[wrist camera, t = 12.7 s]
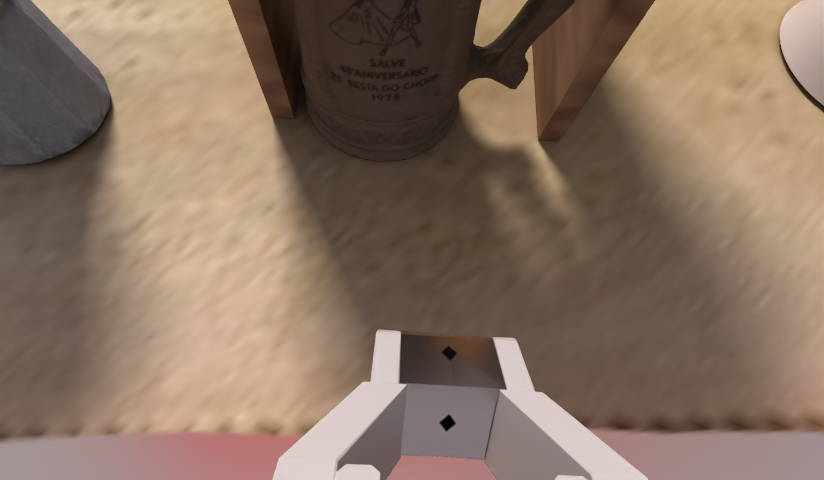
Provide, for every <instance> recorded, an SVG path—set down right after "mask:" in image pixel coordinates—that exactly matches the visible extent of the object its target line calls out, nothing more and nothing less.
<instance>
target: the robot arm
mask: <svg viewBox="0 0 824 480" xmlns="http://www.w3.org/2000/svg"><path fill="white" fill-rule="evenodd" d="M780 43H781V48H782V52H783V54H784V57H785V59H786V62H787V64H788V66H789V67H790V69H791V71H792V72H793V74H794V75H795V77H796V78H797V80H798V81H799V82H800V83H801V85H802V86H803V87H804V88H805V89H806V90H807V91H808V92H809V93H810V94H811V95H812V96H813V97H814V98H815V99H816V100H817V101H819V102H820V103H821V104H822V105H823V106H824V0H802V1H800V2H799V3H797V4H796V5H794V6H793V7H792V8H791V9H790V10H789V11H788V12H787V13H786V15H785V16H784V18H783V20H782V23H781V28H780ZM401 455H409V456H412V455H413V456H445V457H457V458H469V459H481V460H485V463H486V465H487V466H488V467H489V469H490V470H491V471H492V473H493V474H494V475H495V477H496V478H497V479H498V480H649V479H648V478H647V477H646V476H645V475H643V474H642V473H641V472H640V471H638V470H637V469H636V468H635V467H633V466H632V465H631V464H630V463H628V462H627V461H626V460H625V459H624V458H622V457H621V456H620V455H619V454H617V453H616V452H615V451H614V450H613V449H611V448H610V447H609V446H608V445H607V444H605V443H604V442H603V441H601V440H600V439H599V438H598V437H597V436H596V435H594V434H593V433H592V432H591V431H589V430H588V429H587V428H586V427H585V426H583V425H582V424H581V423H580V422H578V421H577V420H576V419H575V418H574V417H572V416H571V415H570V414H569V413H567V412H566V411H565V410H564V409H562V408H561V407H560V406H559V405H558V404H556V403H555V402H554V401H553V400H551V399H550V398H549V397H548V396H547V395H545V394H544V393H543V392H535V389H534V386H533V383H532V381H531V378H530V375H529V372H528V370H527V367H526V364H525V361H524V359H523V356H522V353H521V350H520V348H519V345H518V342H517V340H516V339H515V338H506V337H491V338H486V337H469V336H451V335H443V334H431V333H419V332H407V331H401V333H400V331H394V330H379V329H378V330H377V332H376V339H375V347H374V355H373V364H372V372H371V380H370V382H362V383H361V384H360V385H359V386H358V387H357V388H356V389H355V390H353V391H352V392H351V393H350V394H349V395H348V396H347V397H346V398H345V399H344V400H342V401H341V402H340V403H339V404H338V405H337V406H336V407H335V408H334V409H333V410H331V411H330V412H329V413H328V414H327V415H326V416H325V417H324V418H323V419H322V420H320V421H319V422H318V423H317V424H316V425H315V426H314V427H313V428H312V429H311V430H309V431H308V432H307V433H306V434H305V435H304V436H303V437H302V438H301V439H300V440H298V441H297V442H296V443H295V444H294V445H293V446H292V447H291V448H290V449H289V450H287V451H286V452H285V453H284V454H283V455H282V456H281V457H280V458H279V460H278V464H277V467H276V470H275V473H274V476H273V479H272V480H386V479H387V477H388V476H389V474H390V473H391V471H392V469H393V468H394V467H395V465H396V464H397V462H398V461H399V459H400V457H401Z"/></svg>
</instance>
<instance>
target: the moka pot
mask: <svg viewBox="0 0 824 480" xmlns="http://www.w3.org/2000/svg"><path fill="white" fill-rule="evenodd" d="M109 109H110V93H109V90H108V88H107V84H106V82H105V79H104V77H103V76H102V74H101V73H100V71H99V70H98V68H97V67H96V66H95V65H94V64H93V63H92V62H91V61H90V60H89V59H88V58H87V57H86V56H85V55H84V54H83V53H82V52H81V51H80V50H79V49H78V48H77V47H76V46H75V45H74V44H73V43H72V42H71V41H70V40H69V39H68V38H67V37H66V36H65V35H64V34H63V33H62V32H61V31H60V30H59V29H58V28H57V27H56V26H55V25H54V24H53V23H52V22H51V21H50V20H49V18H48V17H47V16H46V15H45V14H44V13H43V12H42V11H41V10H40V9H39V8H38V7H37V6H36V5H35V4H34V3H33V2H32V1H31V0H0V165H6V166H7V165H21V164H31V163H38V162H41V161H43V160H46V159H49V158H53V157H56V156H59V155H62V154H64V153H66V152H68V151H70V150H72V149H73V148H75V147H77V146H78V145H79V144H81V143H82V142H84V141H85V140H86V139H87V138H89V137H90V136H91V135H93V134H94V133H95V132H96V131H97V129H98V128H99V126H100V125H101V123H102V122H103V119H104V117H105V116H106V113H107V111H108V110H109Z"/></svg>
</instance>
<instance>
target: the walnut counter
mask: <svg viewBox="0 0 824 480" xmlns="http://www.w3.org/2000/svg"><path fill="white" fill-rule="evenodd" d="M228 1H229V4H230V6H231V9H232V12H233V14H234V17H235V20H236V22H237V25H238V28H239V30H240V33H241V35H242V38H243V41H244V43H245V46H246V49H247V51H248V54H249V57H250V59H251V62H252V65H253V67H254V70H255V73H256V75H257V78H258V80H259V83H260V86H261V88H262V91H263V94H264V96H265V99H266V102H267V104H268V107H269V110H270V112H271V115H272V117H277V118H289V119H295V113H296V107H297V102H298V96H299V91H300V85H301V80H302V79H301V74H300V68H299V57H300V47H299V42H298V37H297V32H296V27H295V22H294V17H293V11H292V6H291V0H228ZM654 1H655V0H575V2H574V3H573V5H572V6H571V7H570V8H569V9H568V10H567V11H565V12H564V13H563V14H562V15H561V16H560V17H559V18H558V19H557V20H556V21H555V22H554V23H553V24H552V25H551V26H550V27H549V28H548V29H547V30H546V31H544V32H543V33H542V34H541V35H540V36H539V37H538V38H537V39H536V40H535V41H534V42H533V44H532V49H533V65H534V82H535V98H536V115H537V131H538V140H548V141H560V139H561V138H562V136H563V135H564V133H565V132H566V130H567V129H568V127H569V126H570V124H571V123H572V122H573V120H574V119H575V117H576V116H577V114H578V113H579V111H580V110H581V108H582V107H583V105H584V104H585V102H586V101H587V99H588V98H589V97H590V95H591V94H592V92H593V91H594V89H595V88H596V86H597V85H598V83H599V82H600V80H601V79H602V77H603V76H604V75H605V73H606V72H607V70H608V69H609V67H610V66H611V64H612V63H613V61H614V60H615V58H616V57H617V55H618V54H619V53H620V51H621V50H622V48H623V47H624V45H625V44H626V42H627V41H628V39H629V38H630V36H631V35H632V33H633V32H634V30H635V29H636V28H637V26H638V25H639V23H640V22H641V20H642V19H643V17H644V16H645V14H646V13H647V11H648V10H649V8H650V7H651V6H652V4H653V3H654Z"/></svg>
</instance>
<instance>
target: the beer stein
mask: <svg viewBox="0 0 824 480" xmlns="http://www.w3.org/2000/svg"><path fill="white" fill-rule="evenodd" d="M574 2H575V0H528V1H527V2H526V4H525V5H524V6H523V8H522V9H521V10H520V12H519V13H518V14H517V16H516V17H515V19H514V20H513V21H512V22H511V24H510V25H509V26H508V27H507V28H506V29H505V30H504V32H503V33H502V34H501V35H500V36H499V37H498V38H497V39H496V40H495V41H494V42H493V43H491V44H490V45H488V46H485V47H479V46H475V45H474V44H473V40H474V36H475V28H476V23H477V18H478V14H479V9H480V4H481V0H291V6H292V11H293V17H294V22H295V27H296V32H297V37H298V42H299V47H300V57H299V68H300V74H301V79H302V82H303V84H304V87H305V98H306V104H307V109H308V112H309V115H310V117H311V119H312V121H313V123H314V125H315V126H316V128H317V129H318V130H319V131H320V133H321V134H322V135H323V136H324V137H325V138H326V139H327V140H328V141H329V142H330V143H331V144H332V145H334V146H336V147H337V148H339V149H340V150H342V151H344V152H345V153H348V154H351V155H353V156H356V157H359V158H364V159H370V160H376V161H391V160H403V159H406V158H410V157H413V156H416V155H418V154H420V153H422V152H424V151H426V150H428V149H430V148H431V147H433V146H434V145H435V144H436V143H437V142H438V141H439V140H440V139H441V138H442V137H443V136H444V135H445V133H446V132H447V131H448V129H449V128H450V126H451V124H452V123H453V120H454V117H455V114H456V110H457V105H458V93H459V92H460V90H461V89H462V88H463V87H464V86H465V85H466V84H467V83H468V82H469V81H471V80H474V79H477V78H491V79H493V80H495V81H497V82H499V83H501V84H503V85H505V86H506V87H508V88H510V89H516V88H517V87H518V85H519V84H520V83H521V81H522V80H523V79H524V77H525V75H526V73H527V71H528V62H527V60H526V58H525V53H526V52H527V50H528V48H529V47H530V46H531V45H532V44H533V42H534V41H535V40H536V39H537V38H538V37H539V36H540V35H541V34H542V33H543V32H544V31H546V30H547V29H548V28H549V27H550V26H551V25H552V24H553V23H554V22H555V21H556V20H557V19H558V18H559V17H560V16H561V15H562V14H563V13H564V12H565V11H567V10H568V9H569V8H570V7H571V6H572V5H573V3H574Z"/></svg>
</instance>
